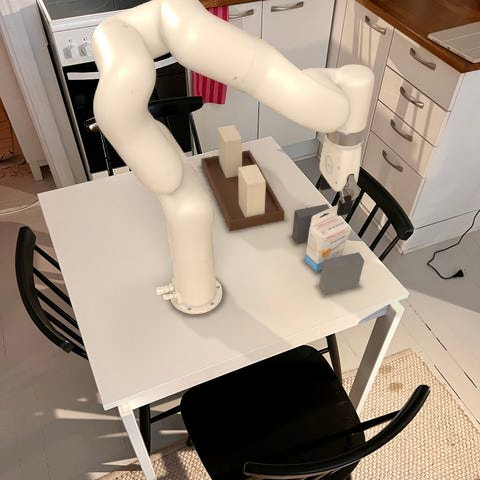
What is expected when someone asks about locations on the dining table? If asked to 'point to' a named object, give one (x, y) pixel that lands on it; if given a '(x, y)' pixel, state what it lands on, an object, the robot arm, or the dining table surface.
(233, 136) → the white books
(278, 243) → the dining table surface
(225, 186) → the book tray
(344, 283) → the gray bookends
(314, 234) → the ink box
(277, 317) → the dining table surface
